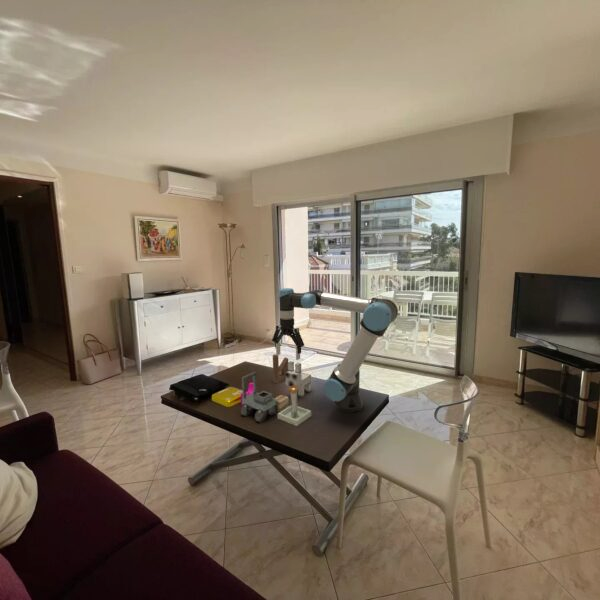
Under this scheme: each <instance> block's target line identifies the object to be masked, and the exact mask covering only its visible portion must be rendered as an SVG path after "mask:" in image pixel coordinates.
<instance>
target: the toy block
mask: <svg viewBox="0 0 600 600" xmlns="http://www.w3.org/2000/svg"><path fill="white" fill-rule="evenodd" d="M251 393H253V382H249V383H248V390H247V391H246V396H247V395H249V394H251ZM242 398H243V393H241V402H240V405H241V406H243V405H244V404H243V403H242Z"/></svg>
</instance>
